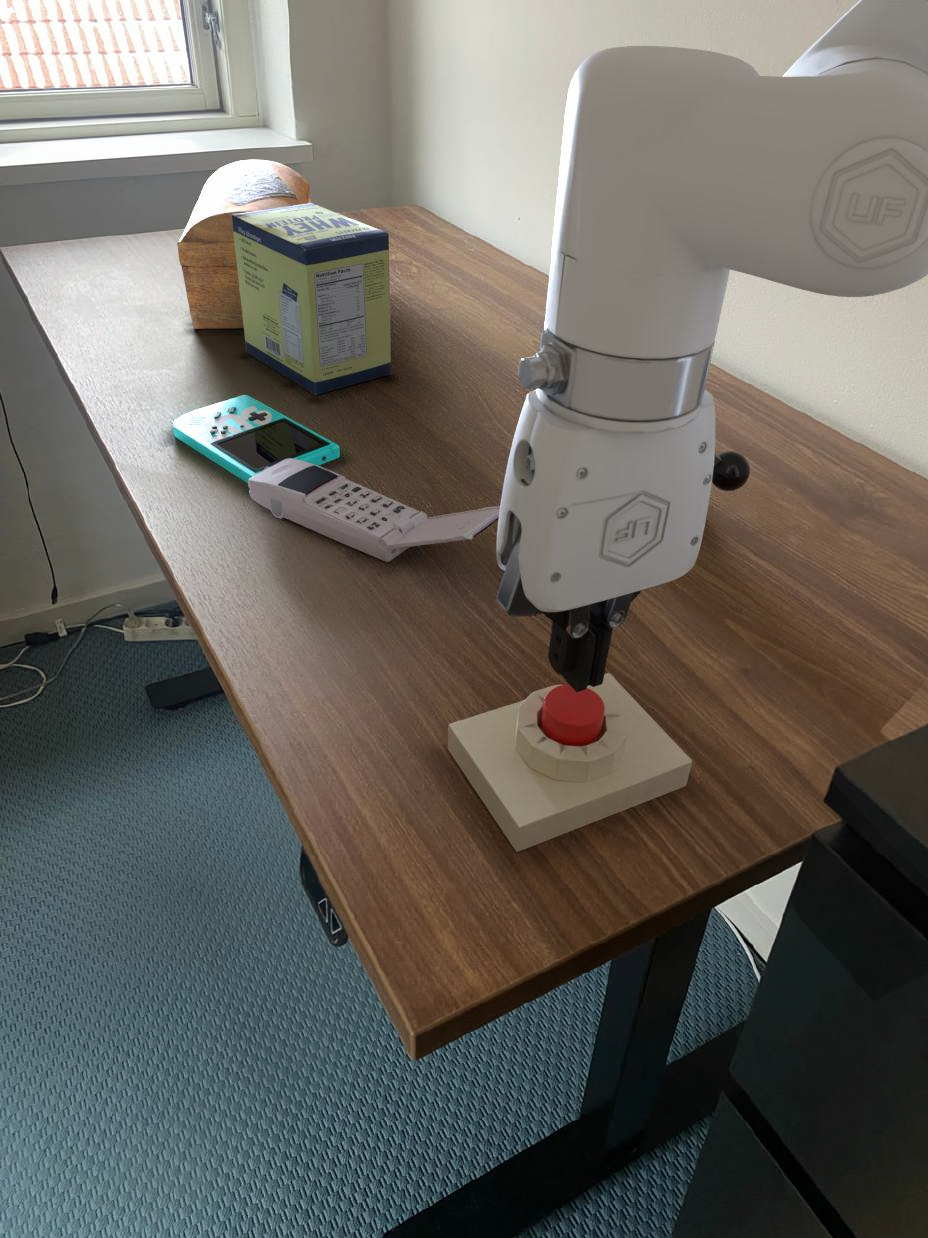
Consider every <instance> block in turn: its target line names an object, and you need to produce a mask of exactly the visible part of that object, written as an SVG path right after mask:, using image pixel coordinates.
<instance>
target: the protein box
mask: <svg viewBox="0 0 928 1238" xmlns="http://www.w3.org/2000/svg"><path fill="white" fill-rule="evenodd" d="M231 216H232V223H233V233H234V242H235V252H236V261H237V270H238V279H239V288H240V297H241V306H242V316H243V325H244V328H243V331H244V333H243V334H244V341H245V351H246V353H247V354H248V355H250V356H251V357H253V358H255V359H256V360H258V361H259V362H261V363H263V364H264V365H266V366H267V367H269V368H270V369H272V370H274V371H275V372H277V373H278V374H279V375H282V376H284V377H285V378H286V379H288V380H289V381H291V382H293V383H295V384H296V385H298V386H299V387H301V388H302V389H304V390H306V391H307V392H309V393H310V394H312V395H314V396H317V395H321V394H325V393H329V392H332V391H336V390H339V389H342V388H346V387H349V386H353V385H357V384H360V383H364V382H368V381H371V380H375V379H378V378H382V377H385V376H389V375H392V355H391V351H392V350H391V345H392V343H391V290H390V289H391V287H390V283H391V281H390V276H391V275H390V237H389V235H390V234H389V232H386V231H385V230H382V229H379V228H376V227H374V226H371V225H369V224H366V223H364V222H361V221H358V220H356V219H354V218H353V219H352V218H350V217H347V216H345V215H343V214H340V213H338V212H334V211H332V210H330V209H328V208H325V207H323V206H320V205H318V204H315V203H313V202H312V203H308V204H301V205H294V206H288V207H281V208H274V209H267V210H260V211H253V212H246V213H239V214H232V215H231Z"/></svg>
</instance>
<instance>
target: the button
mask: <svg viewBox="0 0 928 1238" xmlns="http://www.w3.org/2000/svg"><path fill="white" fill-rule="evenodd" d="M560 685H561V686H558V687H555V688H553V689H552V690H550V691H549V692H548V693H547V695H546V696H545V698H544V704H543V712H542V721H541V724H542V728H543V730H544V732H545V734H546V735H547V736H548V737H549V738H550V739H552V740H553V741H555V742H558V743H560V744H562V745H566V746H584V745H588V744H590V743H592V742H593V741H595V740H596V739H597V738H598V737H599V735H600V733H601V728H602V723H603V717H604V711H605V706H604V703H603V700H602V699H601V697H600V696H599V695H598V694H597V693H595V692H594V691H593V690H591V689H589V688H587V689H586V690H583V691H580V692H576V691H575V690H574V689H573V688H572V687H571V686H570V685H569V684H560Z"/></svg>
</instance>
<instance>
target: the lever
mask: <svg viewBox="0 0 928 1238" xmlns="http://www.w3.org/2000/svg"><path fill="white" fill-rule="evenodd" d="M750 474H751V467H750V464H749V461H748V460H747V458H746V457H745V455H743V454H742V453H739V452H737V451H731V450H729V451H724V452H721V453H720V452H718V451H716V450H715V456H714V468H713V477H712V485H713V486H714V487H715V488H717V489H718V490H721V491H724V492H733V491H737V490H739V489H741V488H742V487H743V486H745V484H747V482H748V481H749V477H750Z"/></svg>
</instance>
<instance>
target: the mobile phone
mask: <svg viewBox="0 0 928 1238" xmlns="http://www.w3.org/2000/svg"><path fill="white" fill-rule="evenodd" d="M247 486H248V488H249V490H248V493H249V497H250V498H251V499H252V500H253V501H255V502H256V503H258V504H259V505H260V506H262V507H264V508H265V509H267V510H269V511H270V512H271V514H272V516H274V518H276V519H283V518H284V519H287V520H288V521H291V522H292V523H295V524H298V525H299V526H302V527H305V528H307V529H308V530H311V531H312V532H313V531H314V532H315V533H318V534H320V535H322V536H324V537H327V538H329V539H331V540H334V541H335V542H339V543H341V544H343V545H345V546H348V547H349V548H352V549H355V550H357V551H359V552H361V553H364V554H366V555H369V556H371V557H373V558H376V559H378V560H381V561H383V562H385V563H390V562H391V561H392V560H393V559H395V558H397V557H398V556H399V555H401V554H402V553H404V552H405V551H406V550H407V549H409V548H410V547H418V546H426V545H427V546H428V545H434V544H435V545H436V544H443V543H451V542H452V543H453V542H459V541H460V542H461V541H469V540H474V539H475V538H476V537H477V536H479V535H480V534H481V533H483V532H484V531H485V530H487V529H488V528H490V527H491V526H493V524H495V523H496V522H498V520H499V512H500V505H498V506H495V505H494V506H486V507H482V508H478V509H471V510H466V511H459V512H452V513H447V514H440V515H434V516H429V517H428V515H427V513H426V512H424V511H423V510H420V511H419V510H418V509H415V508H413V507H411V506H408V505H406V504H404V503H402V502H399V501H397V500H395V499H393V498H390V497H388V496H386V495H383V494H381V493H379V492H377V491H375V490H372V489H370V488H368V487H366V486H364V485H362V484H359V483H356V482H354V481H351V480H349V479H347V478H346V477H345V476H344V475H342V474H340V473H337V472H336V471H335V472H334V471H332V470H330V469H328V468H325V467H323V466H321V465H318V466H317V465H314V464H311V463H308V462H305V461H301V460H297V459H293V458H288V459H285V460H283V461H281V462H279V463H277V464H275V465H273V466H271V467H265V468H264V469H263V471H262V472H260V473H258V474H256V475H254V476H252V477H251V478H249V482H248V483H247Z"/></svg>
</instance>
